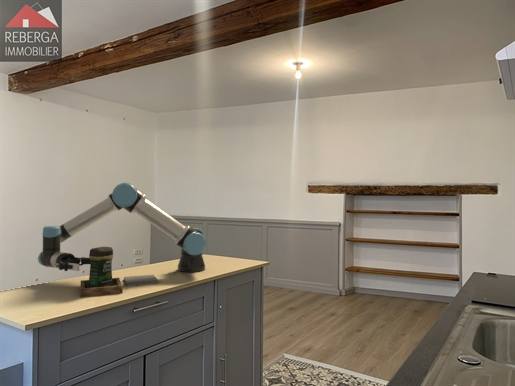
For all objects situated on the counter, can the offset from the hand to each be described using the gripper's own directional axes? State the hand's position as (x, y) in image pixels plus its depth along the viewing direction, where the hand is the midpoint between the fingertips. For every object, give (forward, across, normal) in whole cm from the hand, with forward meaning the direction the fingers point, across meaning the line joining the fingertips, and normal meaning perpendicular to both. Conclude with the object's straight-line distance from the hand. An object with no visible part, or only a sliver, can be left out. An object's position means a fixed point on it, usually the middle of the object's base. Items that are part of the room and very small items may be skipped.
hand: (92, 265), depth 166 cm
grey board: (+6, -22, -10) cm, 25 cm away
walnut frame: (+5, 0, -10) cm, 11 cm away
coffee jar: (+5, 0, -10) cm, 12 cm away
